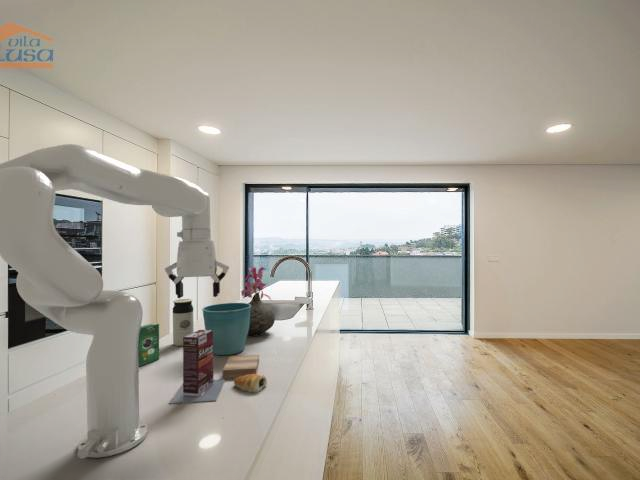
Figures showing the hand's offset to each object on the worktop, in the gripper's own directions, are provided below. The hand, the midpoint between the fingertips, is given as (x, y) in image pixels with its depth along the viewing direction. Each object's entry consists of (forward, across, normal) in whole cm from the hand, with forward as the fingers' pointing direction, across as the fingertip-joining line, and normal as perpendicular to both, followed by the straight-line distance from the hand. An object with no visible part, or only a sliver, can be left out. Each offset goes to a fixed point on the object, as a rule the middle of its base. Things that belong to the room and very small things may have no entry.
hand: (198, 296), depth 99 cm
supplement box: (+26, 0, 0) cm, 26 cm away
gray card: (+26, 0, 0) cm, 26 cm away
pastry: (+27, +14, 0) cm, 30 cm away
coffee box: (+27, -24, +27) cm, 45 cm away
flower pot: (+27, +2, +36) cm, 45 cm away
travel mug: (+27, -18, +49) cm, 58 cm away
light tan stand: (+26, +10, +15) cm, 32 cm away
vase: (+27, +11, +60) cm, 66 cm away
